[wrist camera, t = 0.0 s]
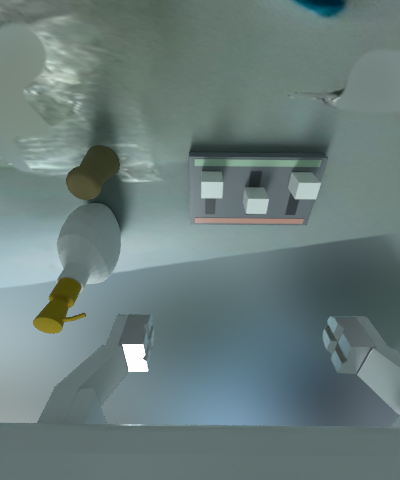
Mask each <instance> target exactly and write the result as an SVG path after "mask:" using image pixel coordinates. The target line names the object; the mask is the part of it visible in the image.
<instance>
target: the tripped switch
mask: <svg viewBox="0 0 400 480" xmlns="http://www.w3.org/2000/svg"><path fill="white" fill-rule="evenodd" d="M268 202H269V198H268V195H267V193H266V191H265V188H264V187H245V188H244V196H243V204H244V208H245V212H246V214H266V212H267V207H268Z"/></svg>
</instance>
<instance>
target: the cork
mask: <svg viewBox="0 0 400 480" xmlns="http://www.w3.org/2000/svg"><path fill="white" fill-rule="evenodd" d="M119 167H120V163H119V159H118V157H117V155H116V154H115V153H114V152H113V150H111V149H110V148H108V147H105V146H102V145H96V146H94V147H92V148H91V149H90V150H89V151H88V152H87V154H86V156H85V157H84V159H83V161H82V163H81V164H80V166H79V167H76V168H73V169H72V170H71V171H70V172H69V173H68V175H67V178H66V184H67V187H68V189H69V191H70V192H71V193H72V194H73V195H74V196H75V197H77V198H79V199H83V200H91V199H94V198H96V197H97V196H98V195H99V194H100V192H101V190H102V185H103V184H104V183H105V182H107V181H108V180H109V179H110V178H112V177H113V176H114V175H115V174H116V173H117V172H118V170H119Z"/></svg>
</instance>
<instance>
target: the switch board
mask: <svg viewBox="0 0 400 480" xmlns="http://www.w3.org/2000/svg"><path fill="white" fill-rule="evenodd" d="M327 160H328V157H327V156H325V155H324V154H323V153H264V152H189V190H190V224H225V225H307V223H308V220H309V217H310V213H311V210H312V207H313V204H314V201H315V199H294V197H293V195H292V194H291V192H290V190H289V189H288V185H289V181H290V177H291V173H292V172H312V173H313V174H314V175H315V176H316V178H317V179H318V180H319V181H320V182H321V179H322V176H323V173H324V169H325V166H326V163H327ZM201 171H219V172H222V177H223V194H222V198H201ZM245 187H264V188H265V191H266V193H267V195H268V198H269V202H268V207H267V212H266V214H246V212H245V208H244V204H243V196H244V188H245Z"/></svg>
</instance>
